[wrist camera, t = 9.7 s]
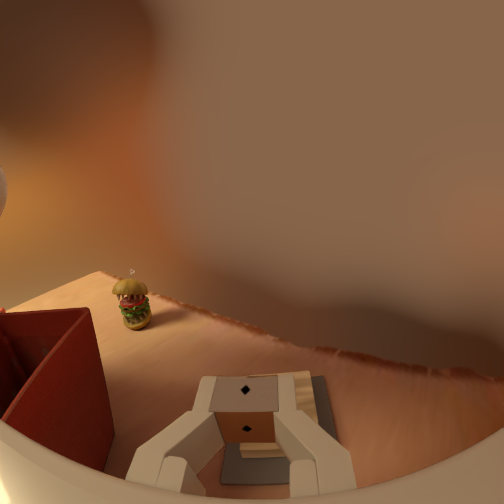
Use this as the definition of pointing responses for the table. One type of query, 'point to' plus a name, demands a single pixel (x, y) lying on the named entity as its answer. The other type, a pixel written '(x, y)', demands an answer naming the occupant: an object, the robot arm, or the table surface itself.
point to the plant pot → (56, 383)
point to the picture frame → (303, 403)
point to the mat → (273, 467)
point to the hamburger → (133, 302)
